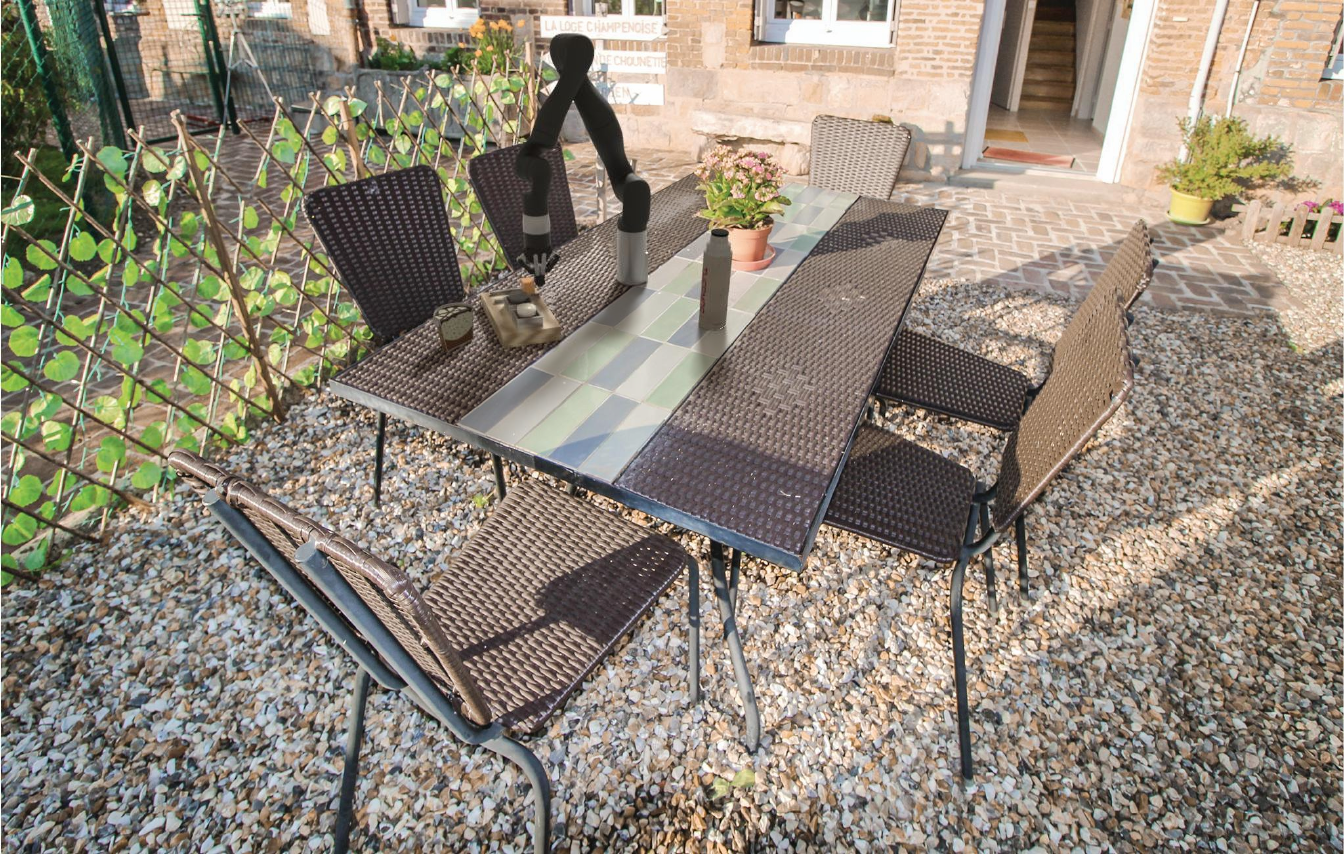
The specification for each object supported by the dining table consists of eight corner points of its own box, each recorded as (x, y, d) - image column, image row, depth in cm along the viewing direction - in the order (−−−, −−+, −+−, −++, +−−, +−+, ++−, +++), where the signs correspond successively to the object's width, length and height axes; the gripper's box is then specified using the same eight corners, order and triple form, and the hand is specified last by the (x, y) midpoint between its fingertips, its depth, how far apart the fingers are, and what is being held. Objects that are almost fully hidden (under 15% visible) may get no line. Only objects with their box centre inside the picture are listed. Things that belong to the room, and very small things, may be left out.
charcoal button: (524, 295, 211) (524, 289, 210) (529, 302, 207) (529, 296, 206) (507, 297, 209) (507, 291, 208) (511, 304, 205) (511, 298, 204)
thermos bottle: (700, 330, 212) (707, 236, 196) (697, 318, 219) (703, 225, 203) (727, 330, 213) (736, 236, 197) (723, 318, 220) (732, 226, 204)
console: (534, 298, 225) (533, 277, 221) (561, 339, 204) (560, 316, 200) (481, 305, 219) (479, 283, 215) (503, 348, 198) (501, 325, 194)
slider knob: (531, 290, 220) (530, 277, 217) (535, 295, 217) (534, 282, 215) (521, 291, 219) (520, 278, 216) (525, 296, 216) (524, 283, 213)
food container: (462, 330, 206) (458, 297, 200) (477, 337, 203) (474, 304, 197) (427, 347, 197) (421, 313, 192) (442, 354, 195) (437, 320, 189)
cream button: (533, 308, 204) (532, 302, 203) (538, 315, 200) (537, 309, 199) (515, 310, 202) (514, 304, 201) (519, 318, 198) (519, 312, 197)
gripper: (555, 222, 213) (557, 278, 223) (510, 226, 209) (514, 283, 218) (563, 231, 208) (565, 288, 217) (516, 235, 203) (520, 294, 213)
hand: (539, 286), depth 218 cm, fingers closed
